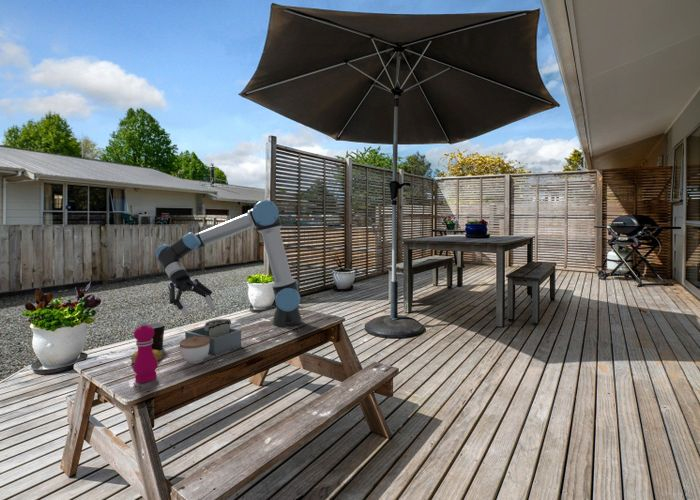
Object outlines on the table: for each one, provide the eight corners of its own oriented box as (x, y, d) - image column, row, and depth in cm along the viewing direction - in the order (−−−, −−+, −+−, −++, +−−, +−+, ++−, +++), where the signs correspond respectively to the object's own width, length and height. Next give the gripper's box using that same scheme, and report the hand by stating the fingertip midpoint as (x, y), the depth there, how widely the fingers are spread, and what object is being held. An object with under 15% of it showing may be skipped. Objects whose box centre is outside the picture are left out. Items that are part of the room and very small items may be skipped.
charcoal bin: (213, 339, 166) (212, 323, 165) (241, 345, 157) (241, 330, 156) (185, 348, 153) (185, 331, 153) (214, 356, 144) (214, 339, 144)
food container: (222, 339, 162) (221, 317, 161) (231, 341, 159) (231, 319, 158) (198, 347, 152) (197, 323, 151) (207, 350, 148) (207, 326, 148)
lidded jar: (175, 361, 139) (174, 337, 139) (201, 353, 148) (201, 330, 147) (188, 368, 133) (187, 343, 132) (215, 359, 141) (215, 336, 140)
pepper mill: (128, 381, 121) (126, 322, 120) (147, 373, 128) (145, 317, 127) (144, 385, 119) (142, 325, 117) (162, 376, 126) (160, 319, 124)
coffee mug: (155, 353, 147) (154, 329, 146) (137, 351, 149) (136, 327, 148) (174, 344, 159) (174, 321, 158) (157, 342, 160) (156, 320, 159)
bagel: (168, 359, 141) (167, 347, 141) (138, 369, 132) (138, 356, 132) (155, 354, 147) (154, 342, 147) (126, 363, 138) (125, 351, 138)
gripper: (197, 276, 176) (219, 310, 170) (147, 283, 154) (170, 323, 148) (204, 265, 173) (227, 300, 167) (154, 271, 151) (178, 312, 145)
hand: (200, 311), depth 157 cm, fingers open, 13 cm apart
